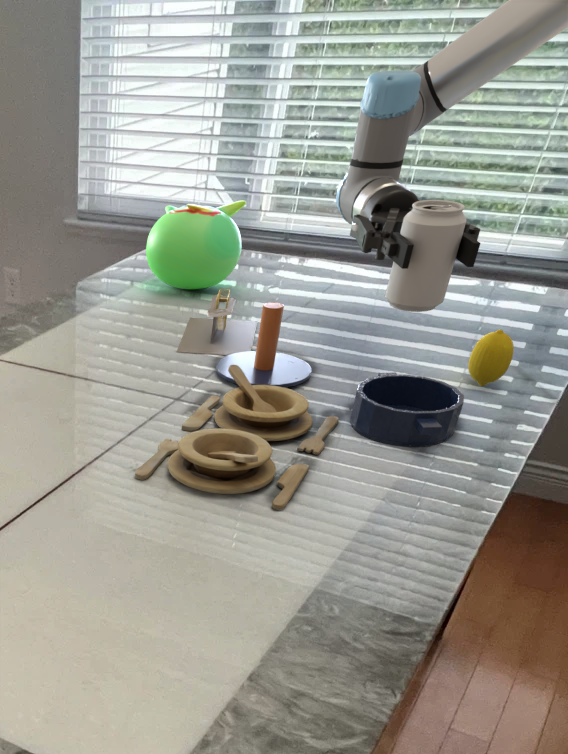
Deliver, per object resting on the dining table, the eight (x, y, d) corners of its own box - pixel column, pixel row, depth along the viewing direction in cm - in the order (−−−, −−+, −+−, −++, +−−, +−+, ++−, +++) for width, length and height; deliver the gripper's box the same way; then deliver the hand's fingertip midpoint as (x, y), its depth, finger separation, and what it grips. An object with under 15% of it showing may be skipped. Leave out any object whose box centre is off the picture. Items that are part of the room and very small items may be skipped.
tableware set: (281, 513, 99) (291, 465, 95) (128, 479, 106) (130, 434, 102) (342, 419, 118) (352, 376, 114) (208, 396, 125) (213, 355, 121)
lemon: (498, 395, 122) (519, 338, 117) (458, 389, 124) (476, 332, 119) (503, 382, 126) (523, 326, 120) (464, 376, 128) (482, 321, 122)
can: (405, 293, 118) (431, 194, 110) (453, 305, 113) (483, 203, 105) (371, 304, 115) (395, 203, 107) (419, 317, 110) (447, 213, 102)
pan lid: (298, 356, 136) (310, 289, 129) (320, 391, 125) (335, 319, 118) (209, 359, 136) (216, 291, 129) (223, 393, 126) (233, 322, 119)
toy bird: (133, 294, 163) (138, 207, 153) (158, 271, 174) (164, 188, 164) (225, 303, 157) (236, 213, 147) (244, 278, 168) (256, 193, 158)
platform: (257, 321, 149) (263, 281, 145) (250, 356, 136) (256, 313, 132) (189, 317, 152) (193, 277, 147) (176, 351, 139) (180, 309, 135)
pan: (426, 397, 122) (436, 366, 119) (476, 454, 108) (488, 420, 105) (334, 399, 123) (341, 368, 120) (371, 456, 109) (380, 422, 106)
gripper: (449, 241, 125) (512, 286, 108) (311, 244, 125) (352, 290, 108) (466, 182, 120) (534, 219, 103) (321, 186, 120) (366, 224, 103)
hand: (440, 255), depth 106 cm, fingers closed on can, 7 cm apart
